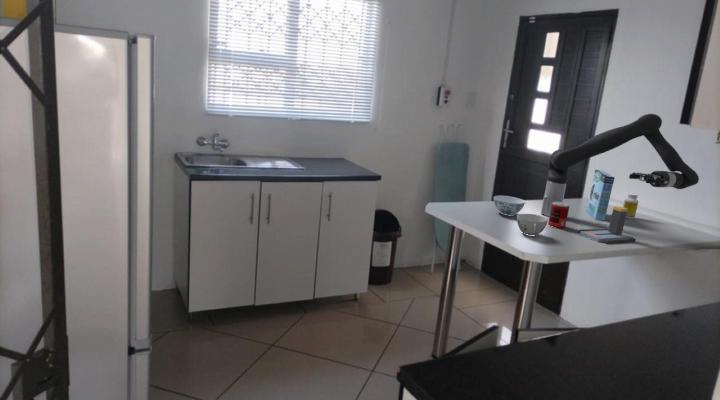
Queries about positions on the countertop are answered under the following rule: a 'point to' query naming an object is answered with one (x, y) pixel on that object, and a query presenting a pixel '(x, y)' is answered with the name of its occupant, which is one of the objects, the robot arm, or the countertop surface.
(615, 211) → the block
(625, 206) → the supplement bottle
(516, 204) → the chinaware
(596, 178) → the gum box
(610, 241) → the dark grey long bar
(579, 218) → the countertop surface
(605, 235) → the blue rectangular board
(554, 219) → the canned food
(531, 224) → the teacup
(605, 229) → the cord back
